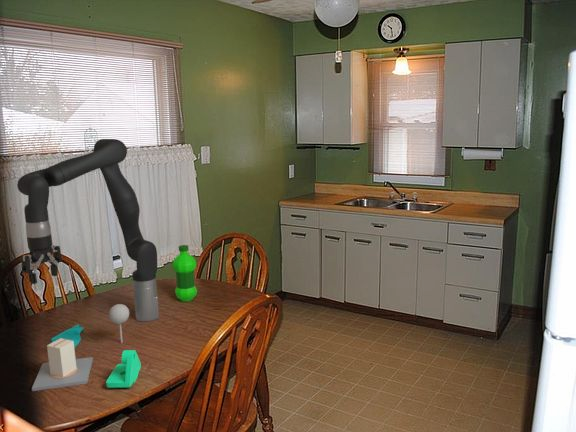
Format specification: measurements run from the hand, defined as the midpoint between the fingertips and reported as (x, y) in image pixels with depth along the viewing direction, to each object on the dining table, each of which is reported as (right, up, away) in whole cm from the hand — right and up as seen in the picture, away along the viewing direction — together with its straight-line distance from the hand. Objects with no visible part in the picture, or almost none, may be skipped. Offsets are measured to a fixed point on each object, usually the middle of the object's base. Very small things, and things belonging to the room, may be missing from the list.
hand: (44, 279), depth 174 cm
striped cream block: (+10, -29, -8) cm, 32 cm away
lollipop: (+22, -26, +15) cm, 37 cm away
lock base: (+10, -30, -8) cm, 33 cm away
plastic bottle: (+38, -16, +56) cm, 69 cm away
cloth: (+1, -26, +18) cm, 32 cm away
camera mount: (+31, -31, -11) cm, 45 cm away
